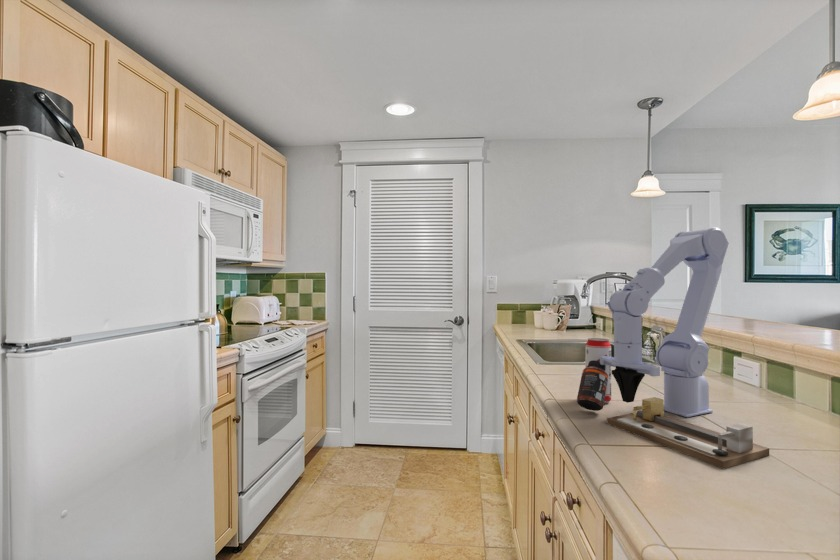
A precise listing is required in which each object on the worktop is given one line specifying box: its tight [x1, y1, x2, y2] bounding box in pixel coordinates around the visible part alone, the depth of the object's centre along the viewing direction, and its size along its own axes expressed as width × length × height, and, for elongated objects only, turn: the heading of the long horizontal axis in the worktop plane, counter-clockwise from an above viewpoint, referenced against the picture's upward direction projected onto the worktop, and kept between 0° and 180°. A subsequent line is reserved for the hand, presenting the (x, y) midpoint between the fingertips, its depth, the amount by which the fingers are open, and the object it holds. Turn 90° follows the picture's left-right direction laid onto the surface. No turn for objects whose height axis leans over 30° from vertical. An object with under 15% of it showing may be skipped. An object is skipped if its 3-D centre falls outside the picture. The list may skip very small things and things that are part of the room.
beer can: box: [584, 337, 612, 405], centre depth 107 cm, size 6×6×16 cm
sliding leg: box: [632, 396, 665, 421], centre depth 89 cm, size 8×2×4 cm, turn 113°
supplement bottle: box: [576, 360, 608, 412], centre depth 100 cm, size 6×6×11 cm
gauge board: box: [606, 410, 770, 470], centre depth 82 cm, size 13×24×5 cm, turn 23°
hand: (628, 401), depth 95 cm, fingers closed
